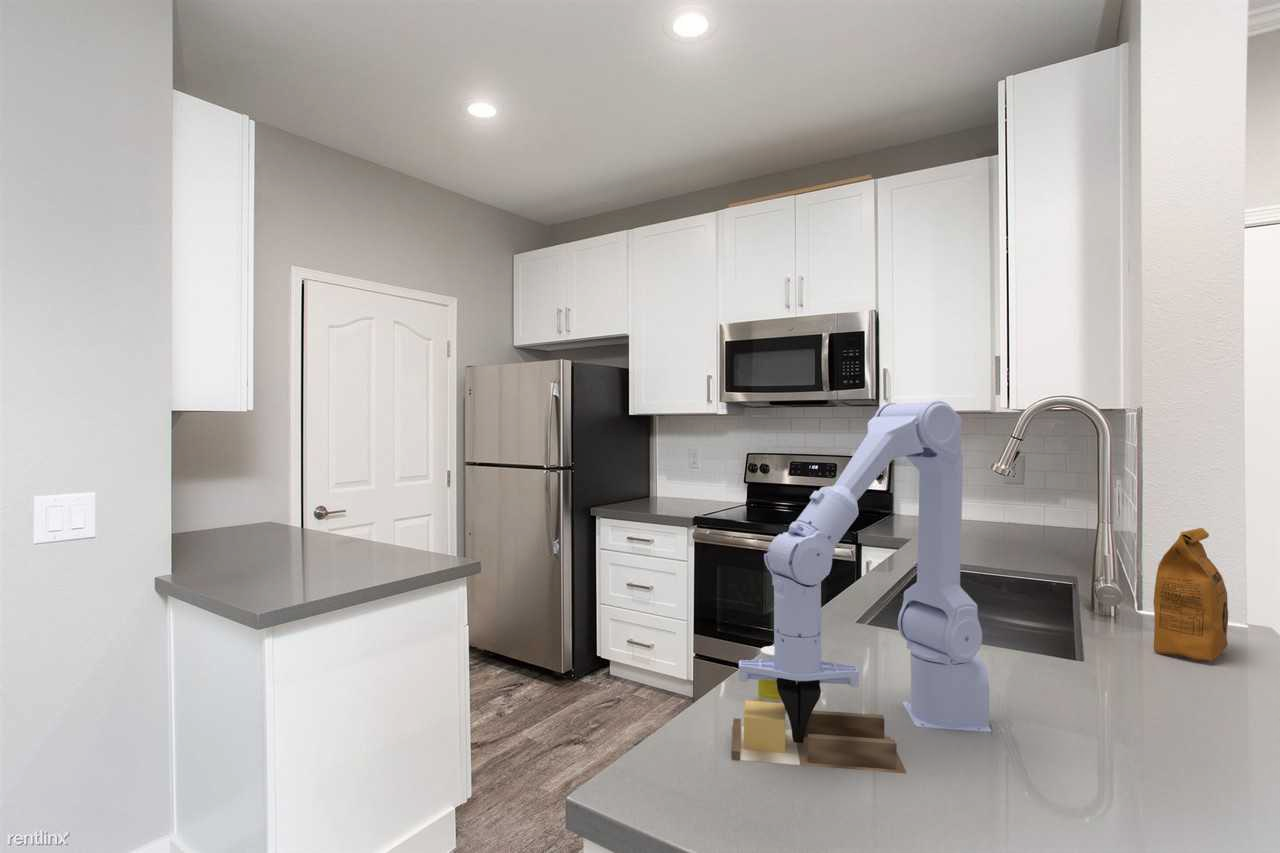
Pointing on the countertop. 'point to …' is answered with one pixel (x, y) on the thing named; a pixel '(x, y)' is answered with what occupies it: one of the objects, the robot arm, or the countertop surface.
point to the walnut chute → (831, 744)
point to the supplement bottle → (768, 681)
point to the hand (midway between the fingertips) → (797, 739)
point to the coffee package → (1190, 601)
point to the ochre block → (764, 726)
